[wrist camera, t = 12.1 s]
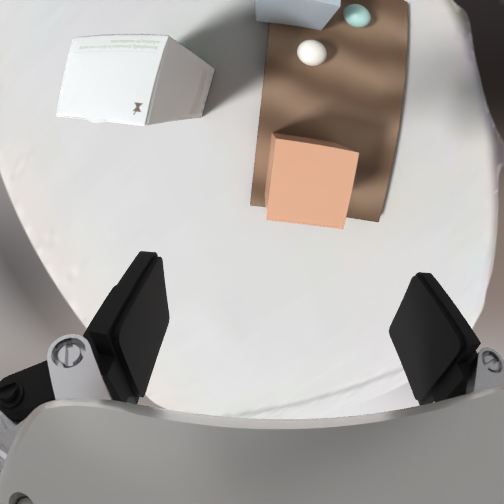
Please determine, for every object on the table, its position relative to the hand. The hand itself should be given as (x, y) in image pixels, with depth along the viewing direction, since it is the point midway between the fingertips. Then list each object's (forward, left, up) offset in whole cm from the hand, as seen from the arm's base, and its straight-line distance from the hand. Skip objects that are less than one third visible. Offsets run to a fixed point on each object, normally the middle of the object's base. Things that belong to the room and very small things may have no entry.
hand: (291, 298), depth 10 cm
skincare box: (-9, -12, -24) cm, 28 cm away
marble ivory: (-14, +1, -20) cm, 24 cm away
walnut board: (-11, +6, -24) cm, 27 cm away
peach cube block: (-1, +3, -23) cm, 23 cm away
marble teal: (-21, +6, -21) cm, 30 cm away
